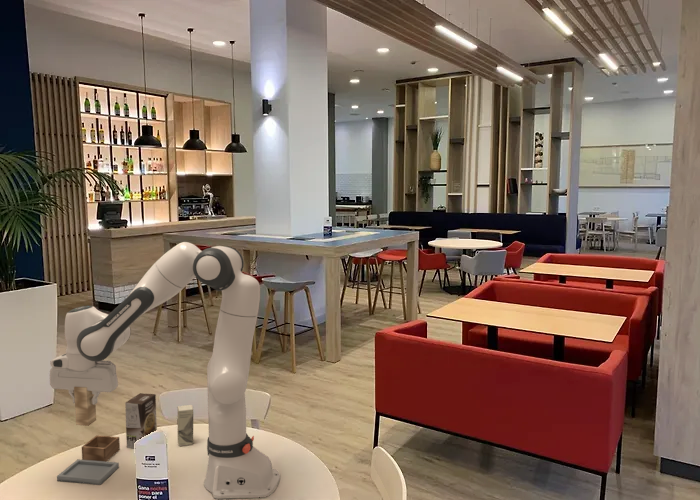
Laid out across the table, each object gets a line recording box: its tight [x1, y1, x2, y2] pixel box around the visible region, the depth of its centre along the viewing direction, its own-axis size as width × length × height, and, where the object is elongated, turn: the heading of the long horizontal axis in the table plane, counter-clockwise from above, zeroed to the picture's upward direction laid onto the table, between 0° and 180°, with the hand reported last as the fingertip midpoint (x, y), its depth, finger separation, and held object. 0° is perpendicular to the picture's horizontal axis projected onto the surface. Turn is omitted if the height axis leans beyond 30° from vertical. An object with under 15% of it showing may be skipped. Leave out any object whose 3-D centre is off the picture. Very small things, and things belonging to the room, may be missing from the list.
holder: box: [81, 434, 121, 462], centre depth 177 cm, size 8×8×4 cm
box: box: [176, 404, 194, 447], centre depth 185 cm, size 5×4×13 cm
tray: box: [56, 458, 120, 486], centre depth 165 cm, size 14×10×2 cm
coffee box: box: [124, 392, 158, 449], centre depth 185 cm, size 9×6×16 cm
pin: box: [74, 387, 97, 427], centre depth 163 cm, size 4×4×12 cm
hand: (85, 403), depth 163 cm, fingers closed on pin, 4 cm apart
